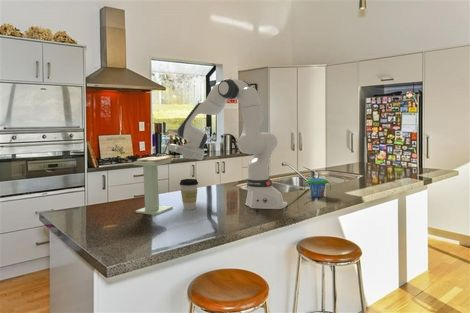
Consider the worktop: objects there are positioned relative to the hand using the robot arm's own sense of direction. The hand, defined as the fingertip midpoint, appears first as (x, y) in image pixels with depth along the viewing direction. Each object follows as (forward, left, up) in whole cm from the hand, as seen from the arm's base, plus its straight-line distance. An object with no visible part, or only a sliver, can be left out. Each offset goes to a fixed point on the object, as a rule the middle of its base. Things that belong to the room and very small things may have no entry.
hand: (184, 152), depth 206 cm
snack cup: (-63, -43, -29) cm, 82 cm away
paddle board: (+7, +14, -3) cm, 16 cm away
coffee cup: (-7, +8, -29) cm, 31 cm away
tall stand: (+7, +19, -29) cm, 35 cm away
